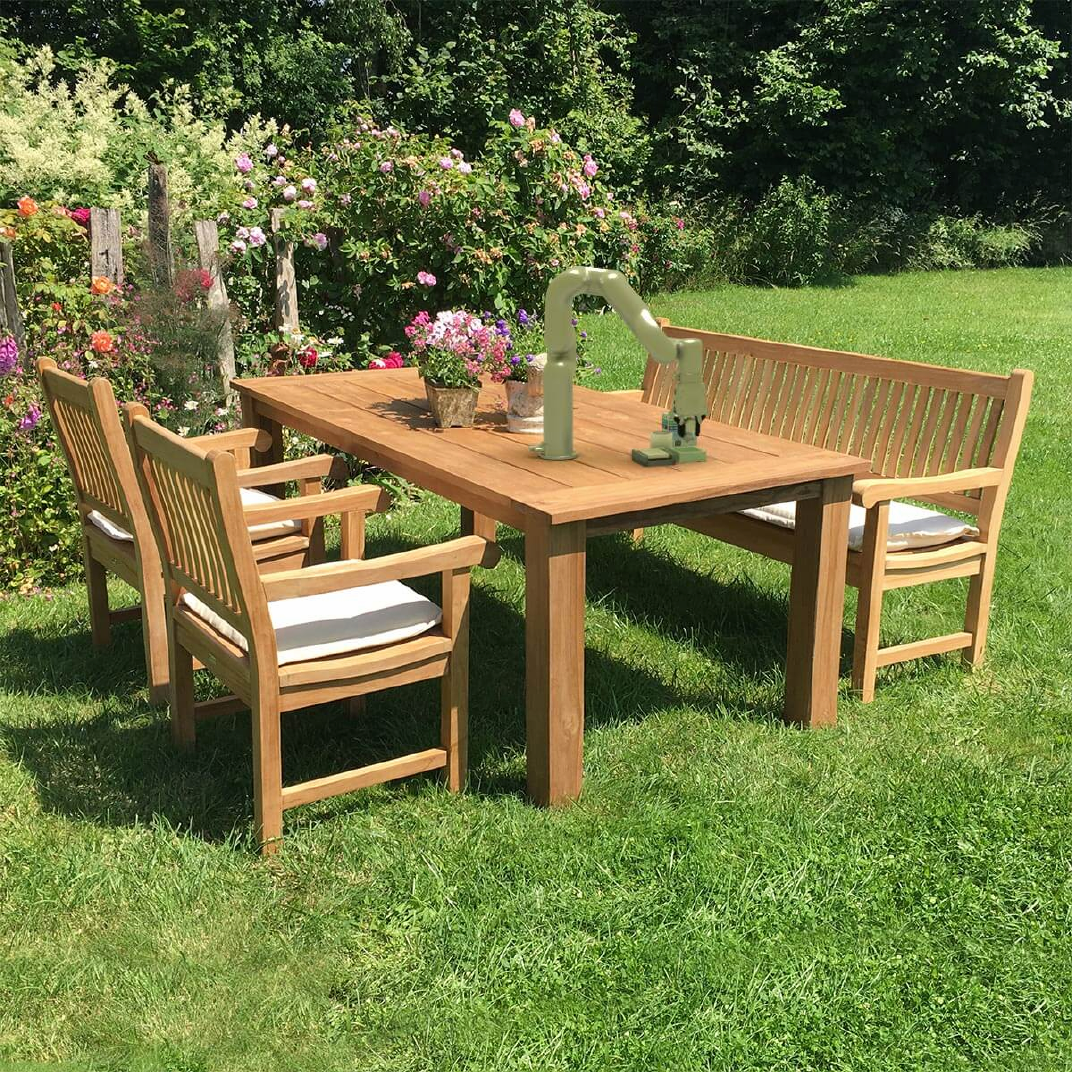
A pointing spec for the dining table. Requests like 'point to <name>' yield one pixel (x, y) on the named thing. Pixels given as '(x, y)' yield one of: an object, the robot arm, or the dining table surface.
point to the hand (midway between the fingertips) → (688, 435)
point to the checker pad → (653, 453)
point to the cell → (689, 428)
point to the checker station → (653, 459)
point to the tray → (688, 454)
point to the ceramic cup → (661, 439)
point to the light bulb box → (675, 431)
